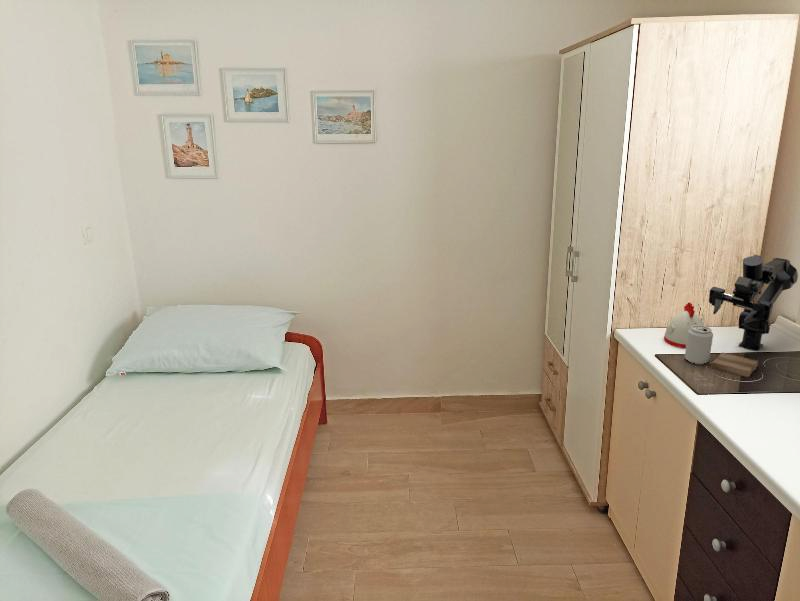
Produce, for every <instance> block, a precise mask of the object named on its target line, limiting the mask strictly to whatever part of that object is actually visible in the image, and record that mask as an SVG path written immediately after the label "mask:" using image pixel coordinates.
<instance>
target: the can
mask: <svg viewBox="0 0 800 601" xmlns="http://www.w3.org/2000/svg"><path fill="white" fill-rule="evenodd" d="M713 338H714V333H713V332H712V328H711V327H708V326H706V325H704V326H701V325H694V326H692V327H691V329H690V330H689V331H688V337H687V344H686V349H685V350H684V358H685V359H686V361H687V360H688V361H689V363H690V362H691V363H690V364H693V363H695V364H694V365H705V364H706V363H708V362H709V361H710V357H711V351H712V345H713V344H712V343H713ZM688 361H687V362H688ZM704 363H705V364H704Z"/></svg>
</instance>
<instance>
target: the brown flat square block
mask: <svg viewBox="0 0 800 601" xmlns="http://www.w3.org/2000/svg"><path fill="white" fill-rule="evenodd" d="M758 365H759V360H757V359H753V358H748V357H744V356H739V355H735V354H731V353H726V352H721V353H720V354H719V355H718V356H717V357H716V358H715V359H714V360H712V362H711V367H712V369H714V368H715V369H714V370H718V371H722V370H723V372H727V373H729V372H730V374H733V373H734V375H737V374H738V375H739V376H742V377H745V378H749V377H750V376H751V374H752V373H753V372H754V371H755V370H756V369H757V368H758V367H759V366H758ZM756 367H757V368H756Z"/></svg>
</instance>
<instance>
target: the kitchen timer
mask: <svg viewBox="0 0 800 601" xmlns="http://www.w3.org/2000/svg"><path fill="white" fill-rule="evenodd" d="M683 309H684V310H683V311H682V312H680V313H677V314H676V315H675V316H674V317H673V318H672V319H671V320H670V321H668V322H667V325H666V330H665V332H664V336H663V337H664V338H663V340H664V342H665V343H666V344H668V345H670V346H672V347H675V348H679V349H685V350H686V344H687V337H688V331H689V330H690V329H691V327H692V326H694V325H701V326H705V325H704V322H703V321H702V319H701V318H700V317H699V316H698V314H696V313H695V312H696V311H695V310H694V309H695V306H694V305H693V303H691V302H687V303H686V304H685V305H684V308H683Z"/></svg>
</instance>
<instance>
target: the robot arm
mask: <svg viewBox="0 0 800 601" xmlns="http://www.w3.org/2000/svg"><path fill="white" fill-rule="evenodd" d="M798 279H799V273H798V270H797V268H796V267H795V266H794V265H792V264H791V261H790V260H789V259H788V258H787V259H786V258H782V257H781V258H780V257H774V258H773V259H772V260H770V261H769V262H766V263H764V260H763V258H762V256H761V255H758V254H753V255H751V256H747V257H744V258H743V259H742V276H738V277H737V279H736V281H735V283H734V284H733V285H734V289H733V290H732V294H733V295H732V294H727V293H726V289H724V288H722V287H721V288H720V287H718V286H712V287H711V288H710V290H709V295H708V304H711V305H712V306H713V307H714V308H713V311H712V312H713V313H712V314H713V315H716V314H717V312H718V311H719V310H720V309H721V307H722V305H723V304H724V301H725V302H727V303H731V304H732V306H734V307H738V308H741V309H743V311H741V312H740V313H739V316H738V329H741V330H743V335H742V341H740V343H739V344H738V347H741V348H745V349H750V350H754V351H759V350H761V348H762V347H763V346H764V344H763V343H761V342H762V337H763V335H766V334H769V333H770V329H771V323H770V318H771V316H772V313H773V307H774V304H775V303H776V301H777V300H778V298H779V296H781V294H782V292H783V291H786V290H790V289H791V288H792V287H793V286H794V284H797V282H798ZM765 285H768V286H767V287H765V289H764V291H763V293H762V290H763V288H764V286H765ZM758 295H760V297H759V298H758V299H757V300H756V297H757V296H758ZM755 300H756V302H755ZM754 302H755V303H754Z"/></svg>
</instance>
